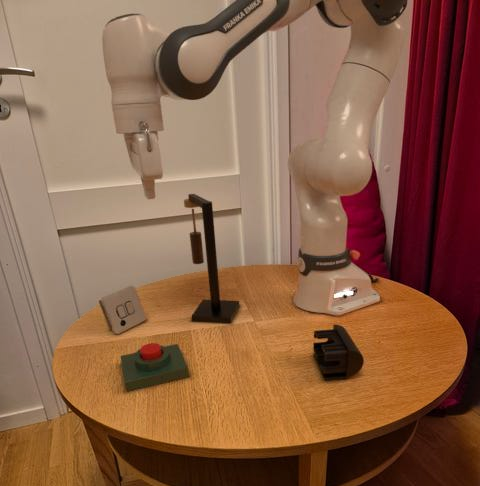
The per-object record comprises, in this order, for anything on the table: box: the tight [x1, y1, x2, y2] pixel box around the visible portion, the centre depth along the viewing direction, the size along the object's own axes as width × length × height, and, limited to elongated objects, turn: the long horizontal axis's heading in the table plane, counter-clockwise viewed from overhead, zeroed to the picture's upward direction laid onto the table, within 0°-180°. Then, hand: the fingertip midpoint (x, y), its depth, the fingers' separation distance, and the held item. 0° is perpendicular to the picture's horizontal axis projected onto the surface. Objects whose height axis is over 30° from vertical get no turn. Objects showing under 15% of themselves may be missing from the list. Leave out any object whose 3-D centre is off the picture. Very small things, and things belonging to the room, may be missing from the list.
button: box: [139, 342, 162, 360], centre depth 80 cm, size 4×4×2 cm
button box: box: [120, 343, 190, 392], centre depth 82 cm, size 12×10×4 cm
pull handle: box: [189, 208, 205, 265], centre depth 106 cm, size 3×3×14 cm
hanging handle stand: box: [183, 193, 241, 324], centre depth 101 cm, size 14×17×28 cm
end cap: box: [312, 324, 364, 382], centre depth 79 cm, size 10×7×7 cm
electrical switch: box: [98, 285, 147, 335], centre depth 99 cm, size 9×5×9 cm, turn 141°
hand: (150, 197), depth 82 cm, fingers closed
